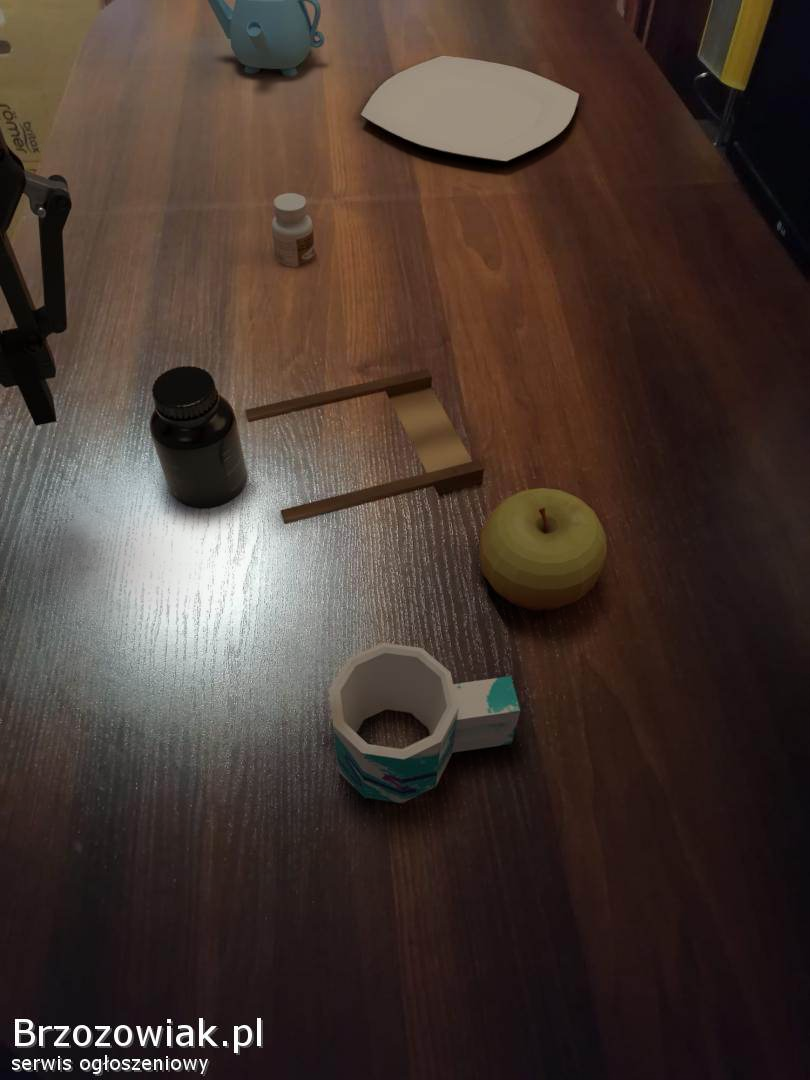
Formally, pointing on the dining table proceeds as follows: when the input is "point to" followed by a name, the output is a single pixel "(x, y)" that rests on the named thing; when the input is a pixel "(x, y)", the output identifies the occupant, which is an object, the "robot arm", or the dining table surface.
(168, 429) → the supplement bottle
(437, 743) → the mug
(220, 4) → the teapot
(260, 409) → the brown u-shaped piece
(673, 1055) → the dining table surface
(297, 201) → the pill bottle
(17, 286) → the robot arm
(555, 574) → the apple
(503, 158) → the plate
